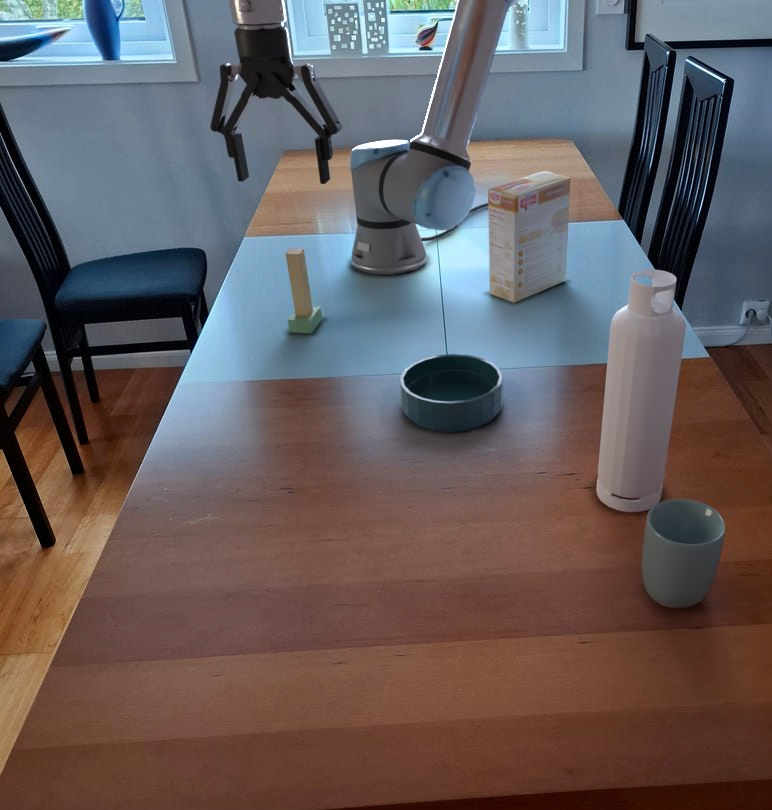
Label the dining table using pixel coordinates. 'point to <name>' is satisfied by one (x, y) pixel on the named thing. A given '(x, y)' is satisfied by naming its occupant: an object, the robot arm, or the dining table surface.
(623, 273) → the dining table surface
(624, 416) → the bottle
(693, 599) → the cup
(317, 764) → the dining table surface
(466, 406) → the bowl
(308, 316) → the brush
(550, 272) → the coffeecake box
